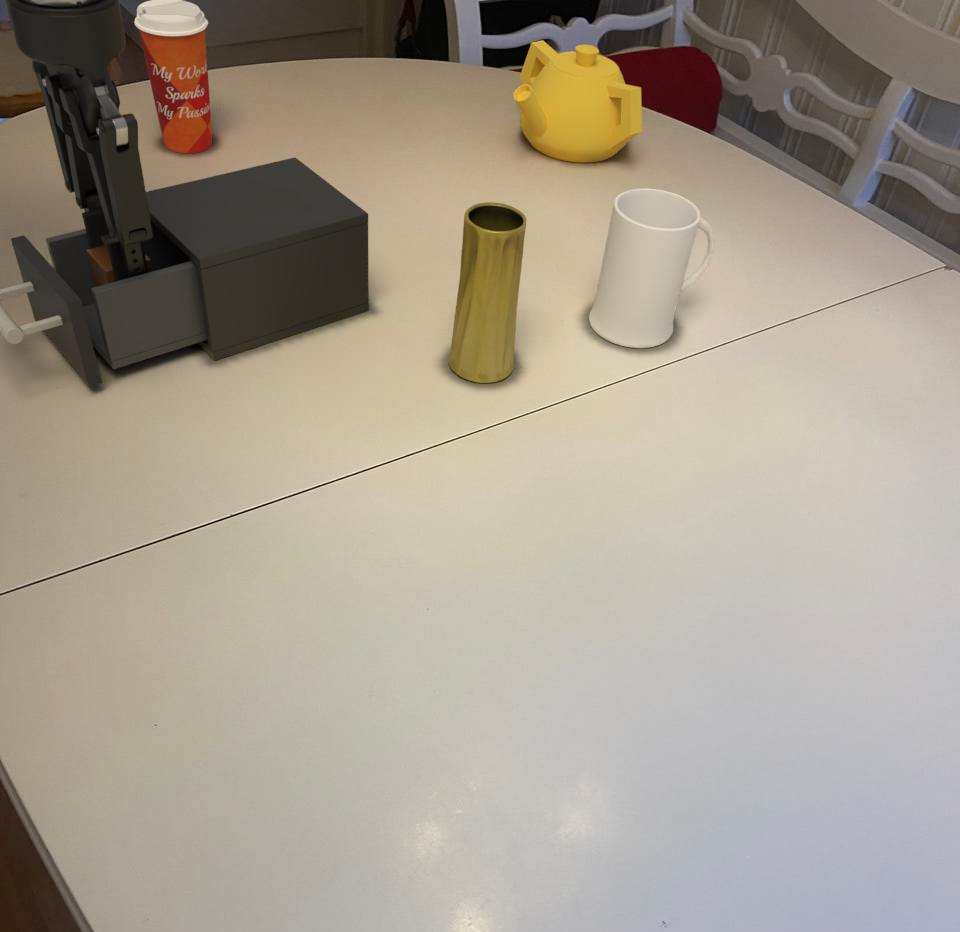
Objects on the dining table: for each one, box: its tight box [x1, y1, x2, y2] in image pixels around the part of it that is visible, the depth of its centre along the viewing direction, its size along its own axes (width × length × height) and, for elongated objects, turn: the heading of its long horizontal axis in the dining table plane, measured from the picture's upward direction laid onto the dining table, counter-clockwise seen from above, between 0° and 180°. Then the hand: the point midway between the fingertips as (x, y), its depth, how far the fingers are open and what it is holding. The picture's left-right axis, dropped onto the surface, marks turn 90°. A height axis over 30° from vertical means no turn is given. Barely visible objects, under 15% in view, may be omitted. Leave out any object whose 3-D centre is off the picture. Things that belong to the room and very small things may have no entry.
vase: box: [448, 201, 527, 384], centre depth 85 cm, size 6×6×14 cm
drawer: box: [0, 222, 207, 388], centre depth 84 cm, size 20×12×8 cm, turn 128°
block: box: [86, 245, 153, 287], centre depth 83 cm, size 4×4×4 cm
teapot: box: [513, 39, 643, 164], centre depth 119 cm, size 20×18×11 cm
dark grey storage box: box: [146, 157, 370, 362], centre depth 90 cm, size 17×13×10 cm
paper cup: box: [134, 0, 213, 154], centre depth 109 cm, size 8×8×14 cm
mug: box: [588, 187, 716, 349], centre depth 93 cm, size 12×8×12 cm
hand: (126, 294), depth 85 cm, fingers closed on block, 4 cm apart
